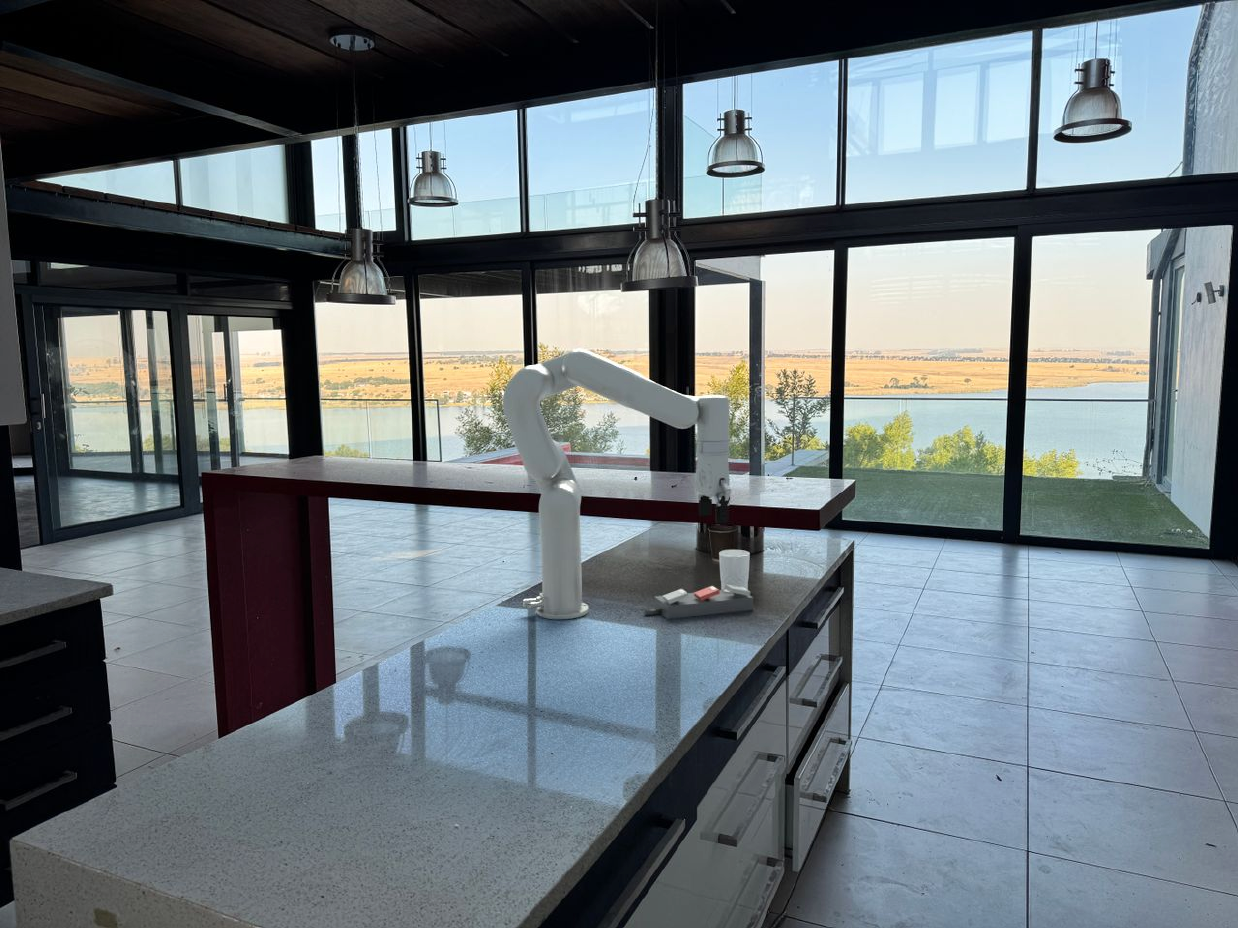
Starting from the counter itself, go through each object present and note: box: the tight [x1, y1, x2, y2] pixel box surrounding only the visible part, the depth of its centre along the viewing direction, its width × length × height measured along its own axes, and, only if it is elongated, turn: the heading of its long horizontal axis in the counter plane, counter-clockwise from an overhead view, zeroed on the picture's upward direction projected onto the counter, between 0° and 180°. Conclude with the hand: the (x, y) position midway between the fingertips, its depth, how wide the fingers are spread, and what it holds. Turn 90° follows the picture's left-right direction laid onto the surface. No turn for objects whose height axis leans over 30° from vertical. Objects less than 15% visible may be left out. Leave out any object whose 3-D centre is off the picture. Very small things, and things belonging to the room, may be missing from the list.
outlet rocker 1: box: [662, 588, 689, 604], centre depth 203 cm, size 5×4×1 cm
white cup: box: [718, 549, 751, 591], centre depth 224 cm, size 8×8×10 cm
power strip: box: [643, 589, 754, 620], centre depth 207 cm, size 26×9×4 cm, turn 107°
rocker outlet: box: [725, 584, 751, 596], centre depth 208 cm, size 5×4×1 cm
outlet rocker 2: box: [693, 585, 720, 601], centre depth 206 cm, size 5×4×1 cm
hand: (713, 519), depth 205 cm, fingers open, 9 cm apart
